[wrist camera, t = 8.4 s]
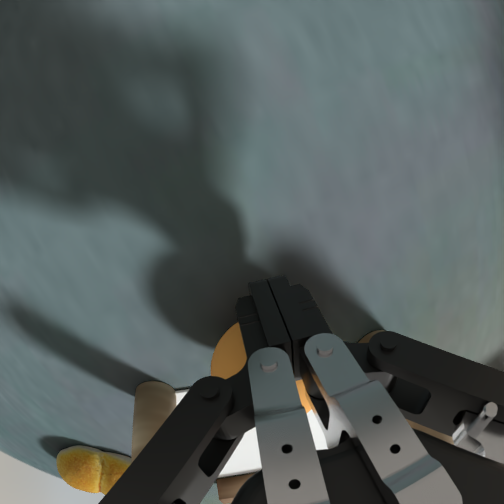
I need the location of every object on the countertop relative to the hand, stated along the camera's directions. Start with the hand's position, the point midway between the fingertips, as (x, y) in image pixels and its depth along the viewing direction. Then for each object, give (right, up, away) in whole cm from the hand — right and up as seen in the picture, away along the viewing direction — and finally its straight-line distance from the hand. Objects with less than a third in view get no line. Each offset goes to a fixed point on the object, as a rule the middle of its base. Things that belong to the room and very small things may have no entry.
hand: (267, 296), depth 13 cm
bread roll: (-15, -18, +10) cm, 25 cm away
